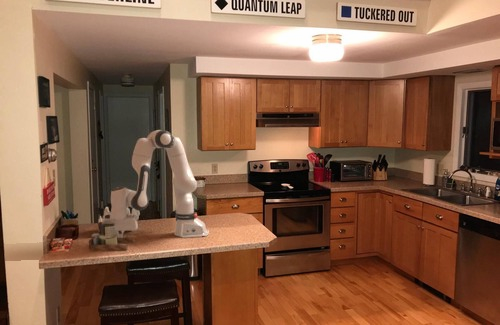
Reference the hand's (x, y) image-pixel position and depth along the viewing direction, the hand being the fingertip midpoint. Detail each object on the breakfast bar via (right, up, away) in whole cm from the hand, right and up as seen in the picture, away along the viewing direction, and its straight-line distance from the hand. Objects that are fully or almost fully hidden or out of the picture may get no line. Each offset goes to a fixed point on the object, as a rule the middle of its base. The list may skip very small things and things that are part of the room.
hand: (120, 237), depth 232 cm
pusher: (-14, -5, 0) cm, 15 cm away
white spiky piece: (-11, -2, +31) cm, 33 cm away
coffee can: (-7, -5, +1) cm, 9 cm away
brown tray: (-5, -5, +1) cm, 7 cm away
